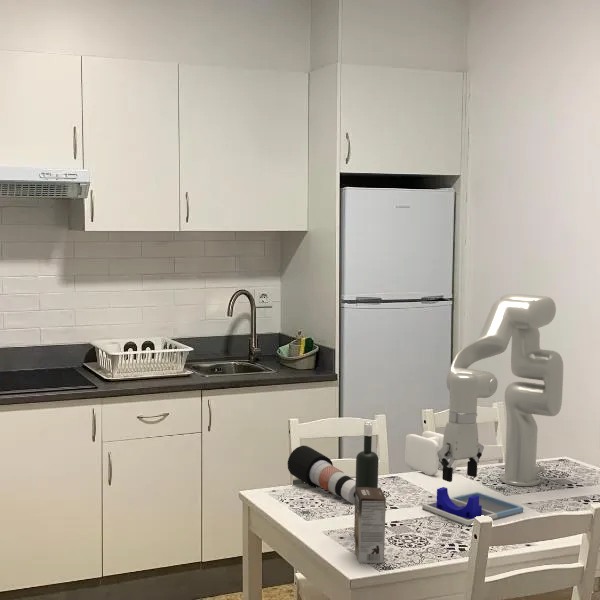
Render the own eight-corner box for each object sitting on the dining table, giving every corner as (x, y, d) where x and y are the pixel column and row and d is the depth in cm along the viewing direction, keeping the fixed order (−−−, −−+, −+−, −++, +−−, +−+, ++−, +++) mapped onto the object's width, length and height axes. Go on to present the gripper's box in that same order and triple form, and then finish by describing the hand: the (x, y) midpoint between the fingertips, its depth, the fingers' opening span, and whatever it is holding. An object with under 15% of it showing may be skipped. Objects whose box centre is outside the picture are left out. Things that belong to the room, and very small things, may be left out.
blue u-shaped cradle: (481, 516, 266) (482, 495, 265) (472, 519, 262) (473, 498, 262) (445, 506, 274) (446, 485, 273) (436, 509, 271) (436, 489, 270)
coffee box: (353, 549, 238) (355, 486, 237) (379, 549, 239) (381, 486, 237) (357, 563, 229) (359, 497, 228) (384, 563, 230) (386, 497, 228)
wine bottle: (360, 540, 245) (363, 425, 242) (350, 533, 251) (353, 420, 248) (380, 537, 248) (383, 423, 245) (369, 530, 253) (372, 419, 250)
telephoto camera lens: (359, 524, 271) (349, 497, 267) (293, 482, 299) (283, 457, 295) (386, 504, 276) (376, 476, 271) (318, 464, 303) (308, 439, 299)
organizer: (402, 467, 316) (403, 432, 315) (425, 462, 323) (426, 428, 322) (434, 477, 304) (435, 442, 303) (457, 473, 311) (459, 437, 310)
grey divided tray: (477, 496, 285) (477, 491, 285) (523, 512, 271) (523, 507, 271) (422, 509, 272) (422, 504, 272) (467, 526, 258) (467, 521, 258)
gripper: (474, 412, 274) (471, 471, 275) (430, 418, 263) (427, 479, 265) (494, 417, 268) (491, 477, 269) (450, 423, 257) (447, 485, 259)
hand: (459, 478), depth 267 cm, fingers open, 9 cm apart
